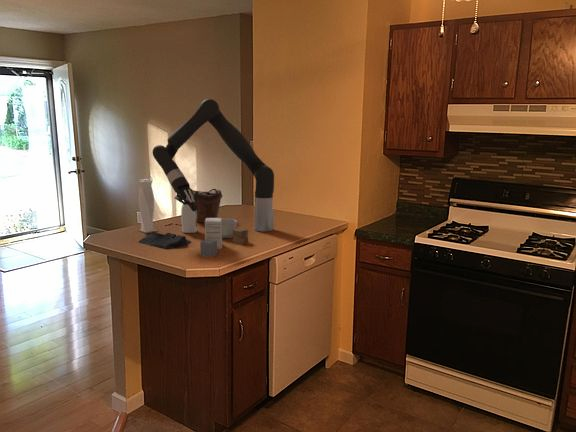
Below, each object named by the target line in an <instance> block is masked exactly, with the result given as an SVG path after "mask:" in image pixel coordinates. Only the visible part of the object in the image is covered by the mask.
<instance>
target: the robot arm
mask: <svg viewBox="0 0 576 432" xmlns="http://www.w3.org/2000/svg"><path fill="white" fill-rule="evenodd" d="M207 122H208V123H209V124H210V125H211V126H212V127H213V128H214V129H215V130H216V132H217V133H218V136H220V138H221V139H222V141H223V143H225V145H226V146H227V147H228V148H229V149H230V150H231V152H233V154H234V155H235V156H236V157H237V158H238V159H239V160H241V161H242V162H243V164H244V165H245V166H246V167H247V168H248V170H249V171H250V172H251V174H252V175H253V177H254V179H255V190H254V231H257V232H271V231H273V230H274V228H275V227H274V225H275V223H274V222H275V220H274V219H275V216H274V215H275V211H274V210H273V208H274V207H273V205H274V202H273V199H274V192H275V190H274V189H275V174H274V173H275V172H274V169H272V167H270V166H268V165H267V164H266V163H265V162H264V161H263V160H262V159H261V158H260V157H259V156H258V155H257V154H256V152H255V150H254V149H253V147H252V145H251V144H250V142H249V141H248V139H247V138H246V137H245V136H244V135H243V134H242V133H241V131H240V130H239V129H238V128H237V127H235V125H233V124H232V123H231V122H230V121H229V120H228V119H227V118H226V117H225V115H224V114H223V113H222V112H221V110H220V106H219V102H217V101H216V100H214V99H212V98H206V99H204V100H203V101H201V102H200V103H199V106H198V109H197V110H196V111H195V112H194V114H193V115H191V117H190V118H189V119H188V120H186V122H184V123H183V124H182V125H180V126H179V127H178V128H177V129H176V130H175V131H174V132H173V133H172V134H171V135H169V137H168V138H167V140H166V141H167V144H166V146H164V145H162V144H157V145H155V146H154V147H153V149H152V156H153V158H154V160H155V161H156V162H157V164H158V165H159V166H160V168H161V169H162V170H163V173H164V174H165V177H166V178H167V180H168V183H169V185H170V186H171V187H172V189H173V191H174V192H175V194H176V195H175V196H174V199H175V200H176V201H178V202H179V203H180V204H182V205H183V204H184V205H188V206H189V207H190V208H191V210H192V211H193V212H194V211H196V210H197V209H198V207H197V206H196V204H195V202H196V201H197V198H198V192H193V189H192V188H191V186H190V183H189V181H188V180H187V178H186V176H185V174H184V173H183V172H182V170H181V169H180V167H179V166H178V164H177V163H176V161H174V160H173V159H174V157H175V156H176V155H177V153H178V151H179V149H180V148H181V147H183V145H184V144H185V143H187V141H189V139H191V137H192V136H194V134H195V133H196V132H197V131H198V130H199V129H200V128H201V127H202V126H204V125H205V124H206V123H207ZM191 200H192V201H191Z"/></svg>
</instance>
